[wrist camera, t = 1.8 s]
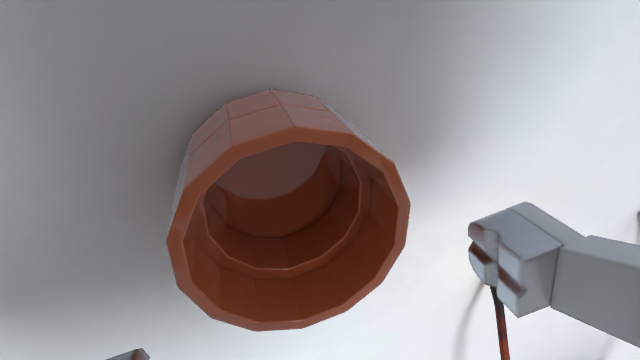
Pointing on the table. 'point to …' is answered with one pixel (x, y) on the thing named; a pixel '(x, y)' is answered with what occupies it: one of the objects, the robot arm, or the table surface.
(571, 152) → the table surface
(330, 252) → the bowl
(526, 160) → the table surface
